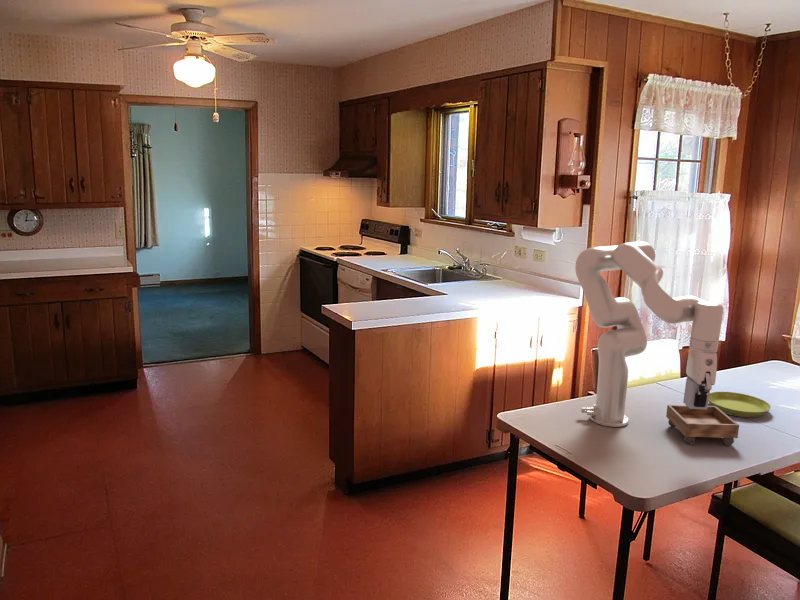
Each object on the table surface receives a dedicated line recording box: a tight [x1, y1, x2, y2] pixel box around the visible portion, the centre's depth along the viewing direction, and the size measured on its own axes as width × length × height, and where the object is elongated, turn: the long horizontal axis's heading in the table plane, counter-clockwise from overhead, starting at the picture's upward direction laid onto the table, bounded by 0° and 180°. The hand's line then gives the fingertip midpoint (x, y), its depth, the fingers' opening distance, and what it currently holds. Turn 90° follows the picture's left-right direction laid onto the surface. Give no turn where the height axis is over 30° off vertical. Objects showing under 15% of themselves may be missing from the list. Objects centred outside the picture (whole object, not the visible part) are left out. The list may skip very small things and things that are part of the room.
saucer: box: [708, 391, 772, 418], centre depth 233 cm, size 21×21×3 cm
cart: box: [665, 404, 740, 446], centre depth 208 cm, size 16×16×7 cm
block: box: [682, 376, 711, 409], centre depth 191 cm, size 5×5×8 cm
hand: (695, 402), depth 191 cm, fingers closed on block, 5 cm apart
